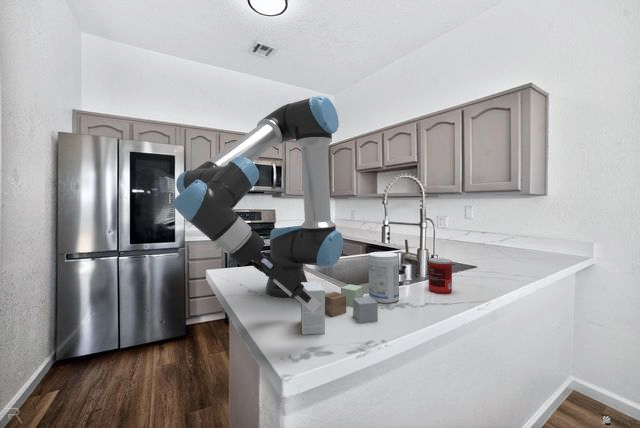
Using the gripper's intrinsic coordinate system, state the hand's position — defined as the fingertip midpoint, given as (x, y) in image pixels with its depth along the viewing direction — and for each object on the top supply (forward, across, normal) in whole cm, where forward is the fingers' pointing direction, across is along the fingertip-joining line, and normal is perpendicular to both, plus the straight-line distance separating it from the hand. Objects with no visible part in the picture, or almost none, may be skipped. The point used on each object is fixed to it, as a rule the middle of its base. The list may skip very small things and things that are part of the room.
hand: (304, 299), depth 68 cm
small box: (+7, 0, -4) cm, 8 cm away
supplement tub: (+28, -9, +17) cm, 34 cm away
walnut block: (+14, -7, +3) cm, 16 cm away
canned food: (+44, -6, +34) cm, 56 cm away
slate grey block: (+18, +1, +7) cm, 19 cm away
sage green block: (+20, -11, +10) cm, 25 cm away
